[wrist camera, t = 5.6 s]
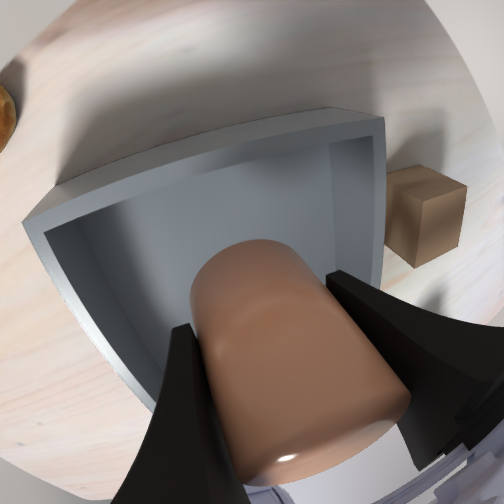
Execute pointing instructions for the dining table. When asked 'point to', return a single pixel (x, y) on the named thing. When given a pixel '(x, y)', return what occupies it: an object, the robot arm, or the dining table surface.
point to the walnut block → (422, 214)
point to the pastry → (6, 117)
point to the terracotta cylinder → (287, 366)
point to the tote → (208, 223)
